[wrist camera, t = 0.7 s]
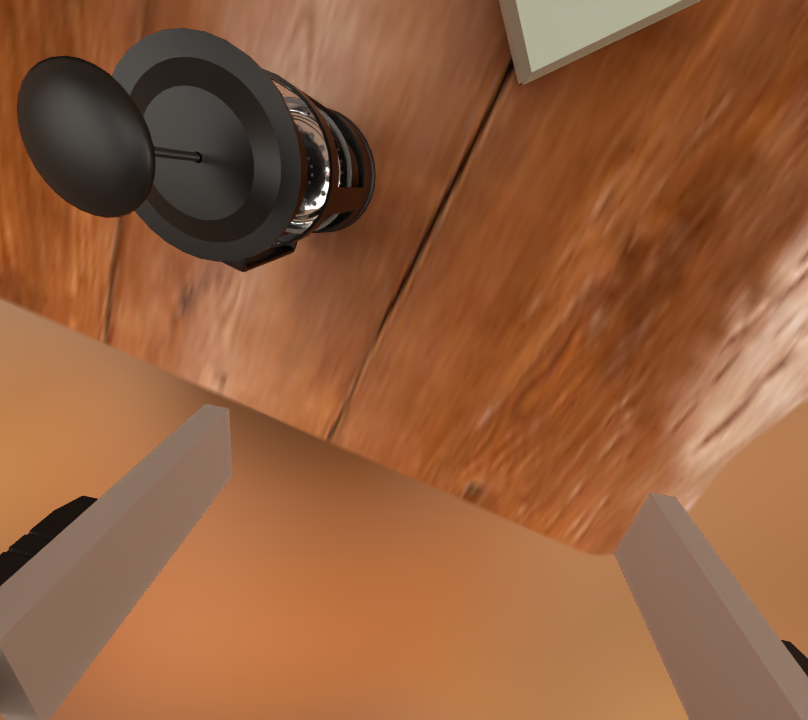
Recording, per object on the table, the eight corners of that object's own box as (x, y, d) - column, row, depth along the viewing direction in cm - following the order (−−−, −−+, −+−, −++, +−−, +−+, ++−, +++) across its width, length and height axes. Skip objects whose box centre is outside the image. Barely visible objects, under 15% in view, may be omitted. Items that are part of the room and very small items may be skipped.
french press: (289, 74, 29) (-117, -219, 8) (397, 134, 30) (279, 5, 9) (249, 219, 34) (-69, 265, 13) (343, 267, 35) (185, 382, 14)
